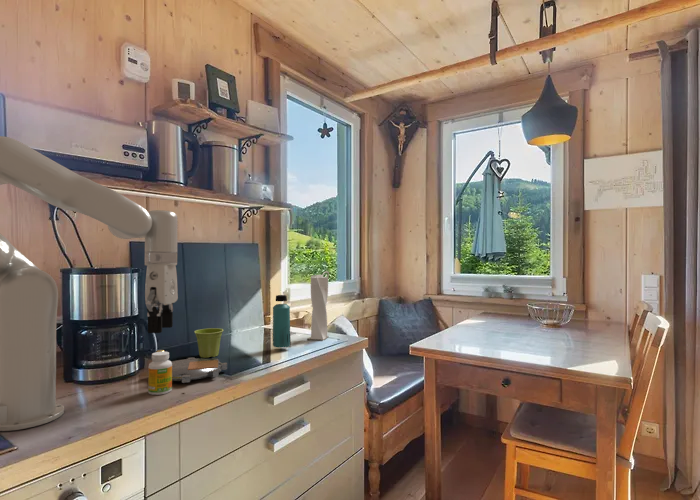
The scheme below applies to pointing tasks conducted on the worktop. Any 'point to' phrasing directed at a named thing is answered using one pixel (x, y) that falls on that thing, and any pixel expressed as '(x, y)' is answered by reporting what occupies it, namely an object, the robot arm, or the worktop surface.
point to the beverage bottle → (281, 323)
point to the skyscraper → (319, 307)
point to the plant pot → (208, 341)
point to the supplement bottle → (160, 374)
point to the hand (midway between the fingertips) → (160, 329)
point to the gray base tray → (195, 368)
